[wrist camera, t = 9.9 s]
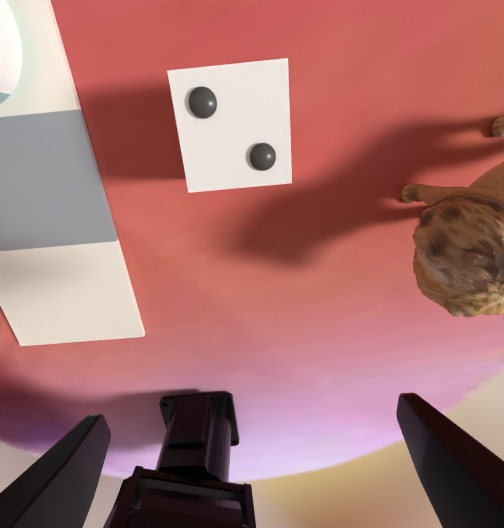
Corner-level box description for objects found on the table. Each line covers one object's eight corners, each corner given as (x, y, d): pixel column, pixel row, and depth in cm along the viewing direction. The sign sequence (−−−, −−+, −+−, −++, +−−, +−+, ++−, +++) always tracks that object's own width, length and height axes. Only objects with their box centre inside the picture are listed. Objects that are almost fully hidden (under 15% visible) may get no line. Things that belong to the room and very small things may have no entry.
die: (281, 171, 19) (292, 183, 14) (203, 179, 19) (187, 193, 14) (277, 80, 17) (288, 57, 12) (190, 89, 17) (166, 70, 12)
